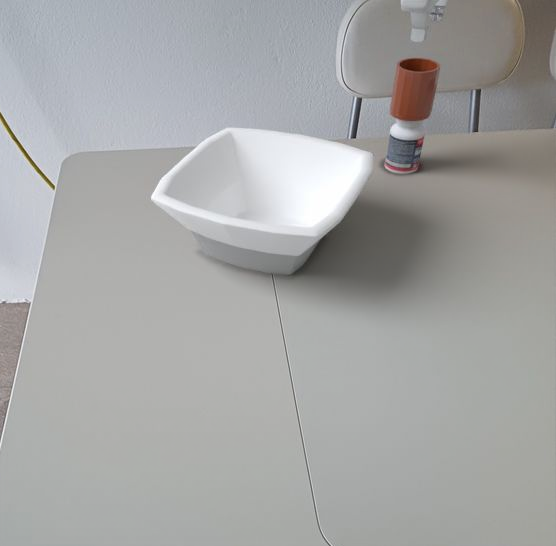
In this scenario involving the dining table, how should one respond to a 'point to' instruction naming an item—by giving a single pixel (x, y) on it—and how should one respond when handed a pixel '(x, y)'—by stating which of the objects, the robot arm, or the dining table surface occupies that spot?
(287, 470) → the dining table surface
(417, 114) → the cup
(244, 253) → the bowl
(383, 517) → the dining table surface
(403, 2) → the robot arm
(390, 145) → the pill bottle
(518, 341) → the dining table surface
